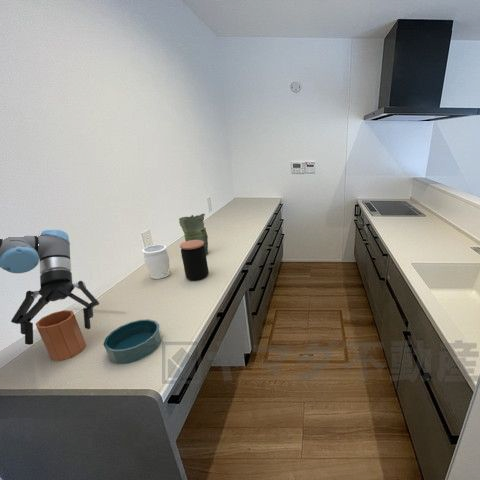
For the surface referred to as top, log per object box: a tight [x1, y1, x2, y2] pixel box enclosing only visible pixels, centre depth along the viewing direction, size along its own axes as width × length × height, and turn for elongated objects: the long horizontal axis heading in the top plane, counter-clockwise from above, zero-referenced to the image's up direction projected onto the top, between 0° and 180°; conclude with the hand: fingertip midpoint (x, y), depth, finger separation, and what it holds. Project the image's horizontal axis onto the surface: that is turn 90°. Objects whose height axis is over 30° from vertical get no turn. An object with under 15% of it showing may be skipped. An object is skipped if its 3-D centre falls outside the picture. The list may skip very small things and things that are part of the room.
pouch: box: [178, 213, 209, 255], centre depth 154 cm, size 11×12×25 cm
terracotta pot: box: [35, 309, 87, 362], centre depth 83 cm, size 8×9×13 cm
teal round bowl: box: [102, 318, 163, 365], centre depth 87 cm, size 15×15×6 cm
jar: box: [141, 244, 171, 280], centre depth 131 cm, size 11×10×15 cm
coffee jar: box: [179, 240, 209, 282], centre depth 131 cm, size 11×11×18 cm
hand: (59, 335), depth 82 cm, fingers open, 13 cm apart
